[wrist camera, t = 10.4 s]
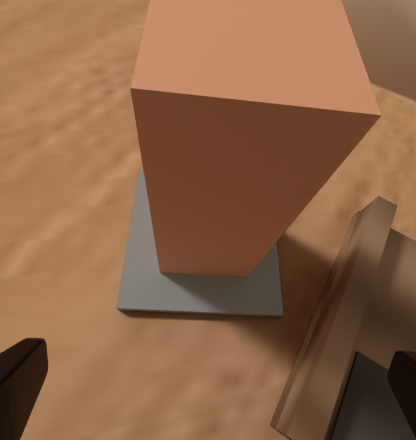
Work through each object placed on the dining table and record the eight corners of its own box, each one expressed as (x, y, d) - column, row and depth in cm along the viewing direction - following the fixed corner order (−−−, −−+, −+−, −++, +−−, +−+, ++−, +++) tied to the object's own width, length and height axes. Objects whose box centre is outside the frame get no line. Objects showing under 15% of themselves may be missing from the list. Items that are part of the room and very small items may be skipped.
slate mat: (279, 316, 16) (283, 315, 16) (118, 310, 15) (116, 308, 15) (268, 185, 20) (270, 180, 20) (140, 175, 19) (139, 169, 19)
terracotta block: (246, 277, 16) (381, 115, 6) (159, 272, 16) (130, 87, 5) (244, 203, 19) (336, -12, 8) (167, 197, 18) (158, -38, 8)
